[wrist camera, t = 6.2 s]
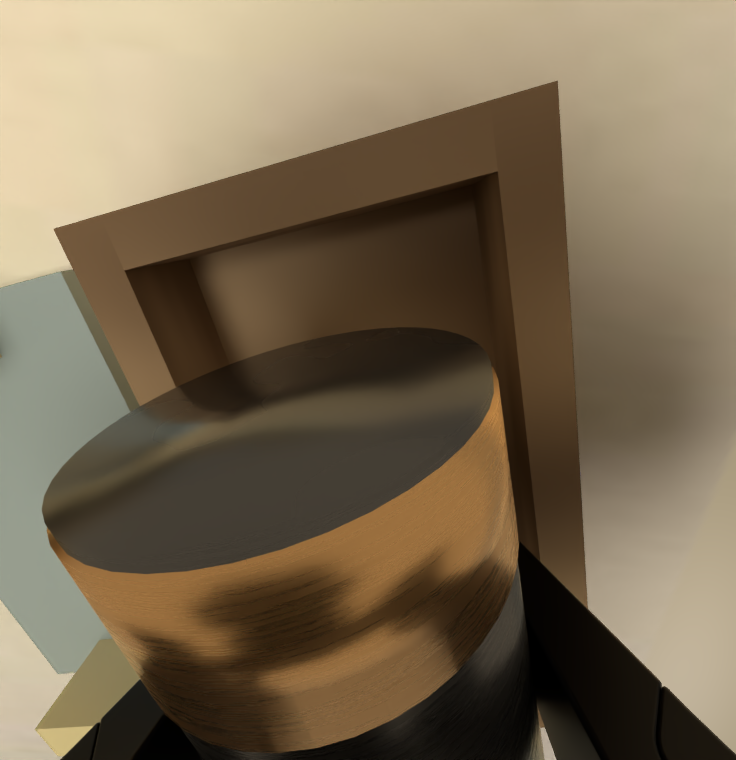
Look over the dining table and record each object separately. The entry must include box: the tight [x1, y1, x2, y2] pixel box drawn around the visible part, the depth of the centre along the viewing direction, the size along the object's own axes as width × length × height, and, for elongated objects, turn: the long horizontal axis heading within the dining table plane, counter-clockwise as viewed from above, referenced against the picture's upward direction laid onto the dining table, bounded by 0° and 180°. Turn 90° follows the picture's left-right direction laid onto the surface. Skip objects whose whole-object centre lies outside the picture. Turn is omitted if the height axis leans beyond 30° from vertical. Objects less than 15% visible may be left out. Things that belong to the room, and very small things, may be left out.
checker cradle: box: [0, 270, 140, 756], centre depth 13 cm, size 15×9×4 cm, turn 13°
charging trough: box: [54, 81, 588, 728], centre depth 11 cm, size 16×9×4 cm, turn 13°
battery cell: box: [42, 327, 544, 760], centre depth 7 cm, size 10×5×5 cm, turn 13°
